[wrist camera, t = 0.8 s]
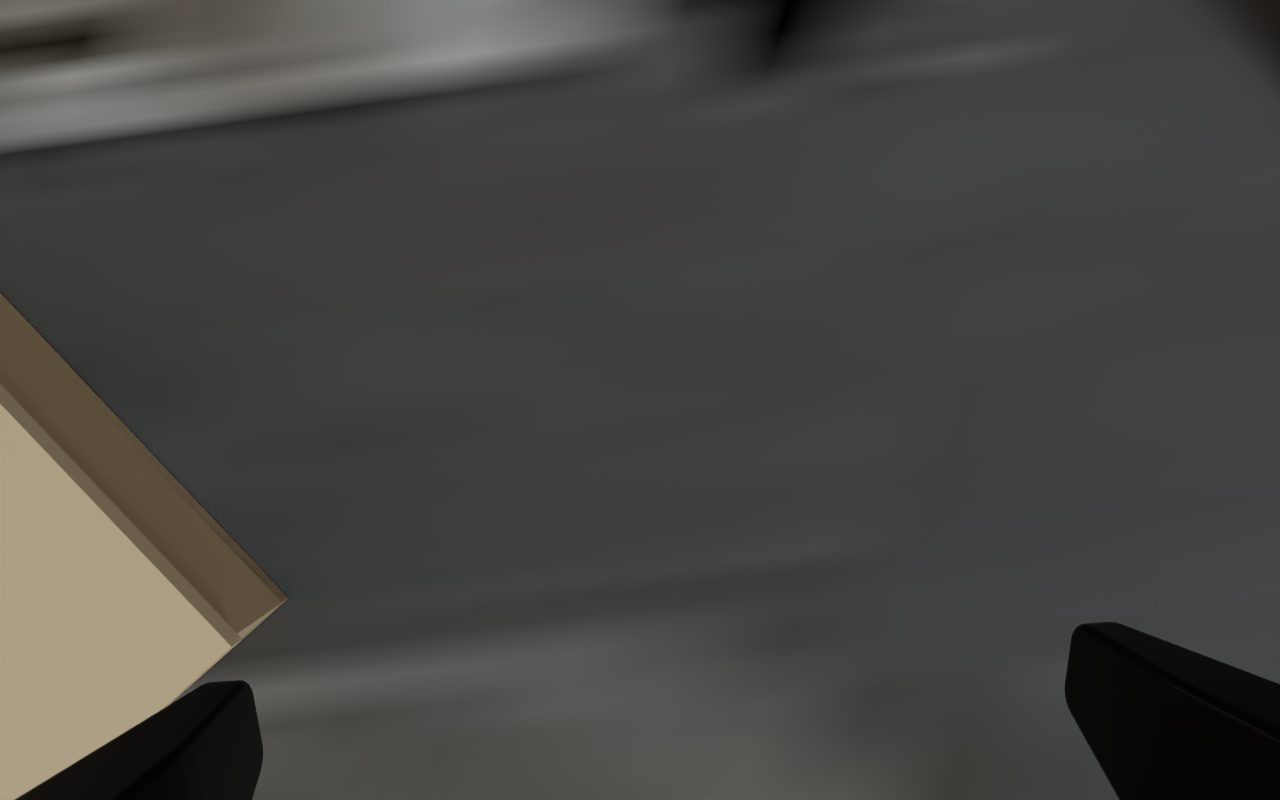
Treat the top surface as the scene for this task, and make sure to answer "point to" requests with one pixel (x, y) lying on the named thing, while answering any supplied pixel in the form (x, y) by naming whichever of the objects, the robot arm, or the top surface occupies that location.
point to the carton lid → (82, 613)
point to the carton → (132, 477)
